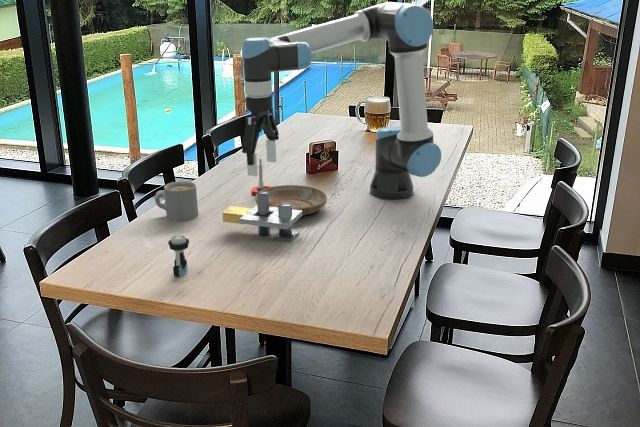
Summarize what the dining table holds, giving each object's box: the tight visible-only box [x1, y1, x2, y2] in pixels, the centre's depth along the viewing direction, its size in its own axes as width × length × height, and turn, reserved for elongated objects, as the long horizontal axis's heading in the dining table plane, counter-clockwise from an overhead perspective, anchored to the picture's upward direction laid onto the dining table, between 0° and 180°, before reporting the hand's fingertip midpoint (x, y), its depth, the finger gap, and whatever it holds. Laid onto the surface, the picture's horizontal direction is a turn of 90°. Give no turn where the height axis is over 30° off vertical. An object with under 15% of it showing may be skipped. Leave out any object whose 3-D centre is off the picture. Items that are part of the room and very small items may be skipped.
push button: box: [167, 234, 190, 277], centre depth 180 cm, size 7×5×10 cm
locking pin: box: [256, 191, 271, 237], centre depth 204 cm, size 3×3×13 cm
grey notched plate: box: [222, 203, 303, 243], centre depth 205 cm, size 22×12×10 cm, turn 71°
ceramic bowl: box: [254, 184, 328, 216], centre depth 225 cm, size 23×24×5 cm
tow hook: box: [251, 158, 273, 196], centre depth 241 cm, size 8×13×9 cm
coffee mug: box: [154, 180, 199, 222], centre depth 220 cm, size 13×10×10 cm
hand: (262, 168), depth 199 cm, fingers open, 13 cm apart
